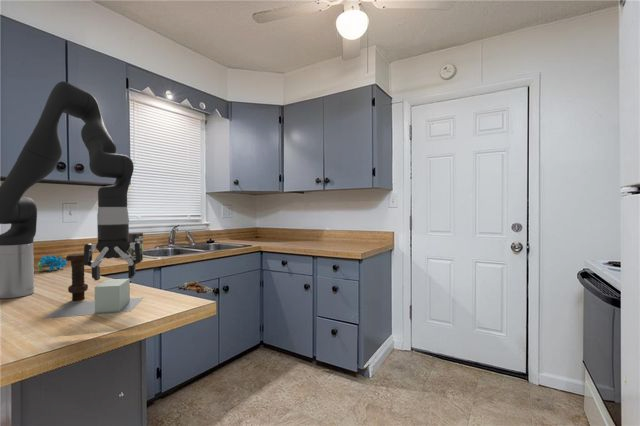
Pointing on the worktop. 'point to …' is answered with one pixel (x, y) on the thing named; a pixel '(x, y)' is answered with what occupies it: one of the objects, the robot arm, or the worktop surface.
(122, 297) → the pale green block
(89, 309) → the board
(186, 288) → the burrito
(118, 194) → the robot arm
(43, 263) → the blue flower cluster
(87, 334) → the worktop surface
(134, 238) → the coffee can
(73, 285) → the bolt
